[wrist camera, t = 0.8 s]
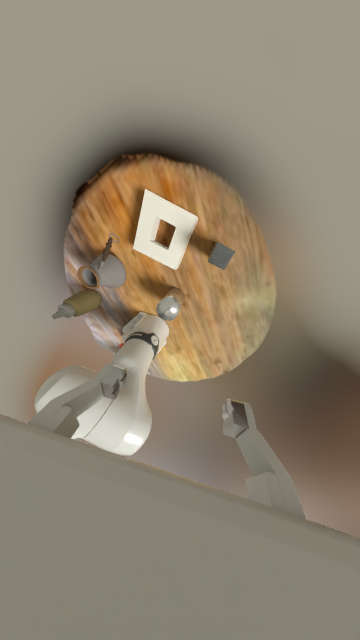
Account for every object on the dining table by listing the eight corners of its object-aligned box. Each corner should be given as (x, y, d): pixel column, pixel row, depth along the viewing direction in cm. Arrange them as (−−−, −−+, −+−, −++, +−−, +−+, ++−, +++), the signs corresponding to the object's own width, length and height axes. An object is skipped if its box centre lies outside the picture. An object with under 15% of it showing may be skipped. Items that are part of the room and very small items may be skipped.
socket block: (178, 267, 44) (175, 270, 40) (139, 248, 43) (133, 248, 40) (198, 219, 37) (196, 216, 33) (152, 194, 36) (145, 188, 32)
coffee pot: (118, 291, 53) (89, 306, 40) (95, 267, 50) (55, 275, 37) (154, 254, 44) (131, 259, 31) (128, 221, 40) (90, 211, 28)
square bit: (219, 261, 41) (224, 270, 29) (208, 255, 41) (207, 261, 29) (227, 248, 39) (235, 251, 27) (215, 242, 39) (218, 242, 27)
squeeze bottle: (107, 297, 56) (69, 318, 40) (99, 308, 59) (62, 332, 44) (91, 283, 54) (44, 299, 38) (84, 295, 57) (38, 315, 42)
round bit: (173, 307, 52) (164, 323, 42) (163, 293, 50) (152, 306, 40) (187, 300, 49) (182, 315, 39) (178, 284, 47) (170, 296, 37)
